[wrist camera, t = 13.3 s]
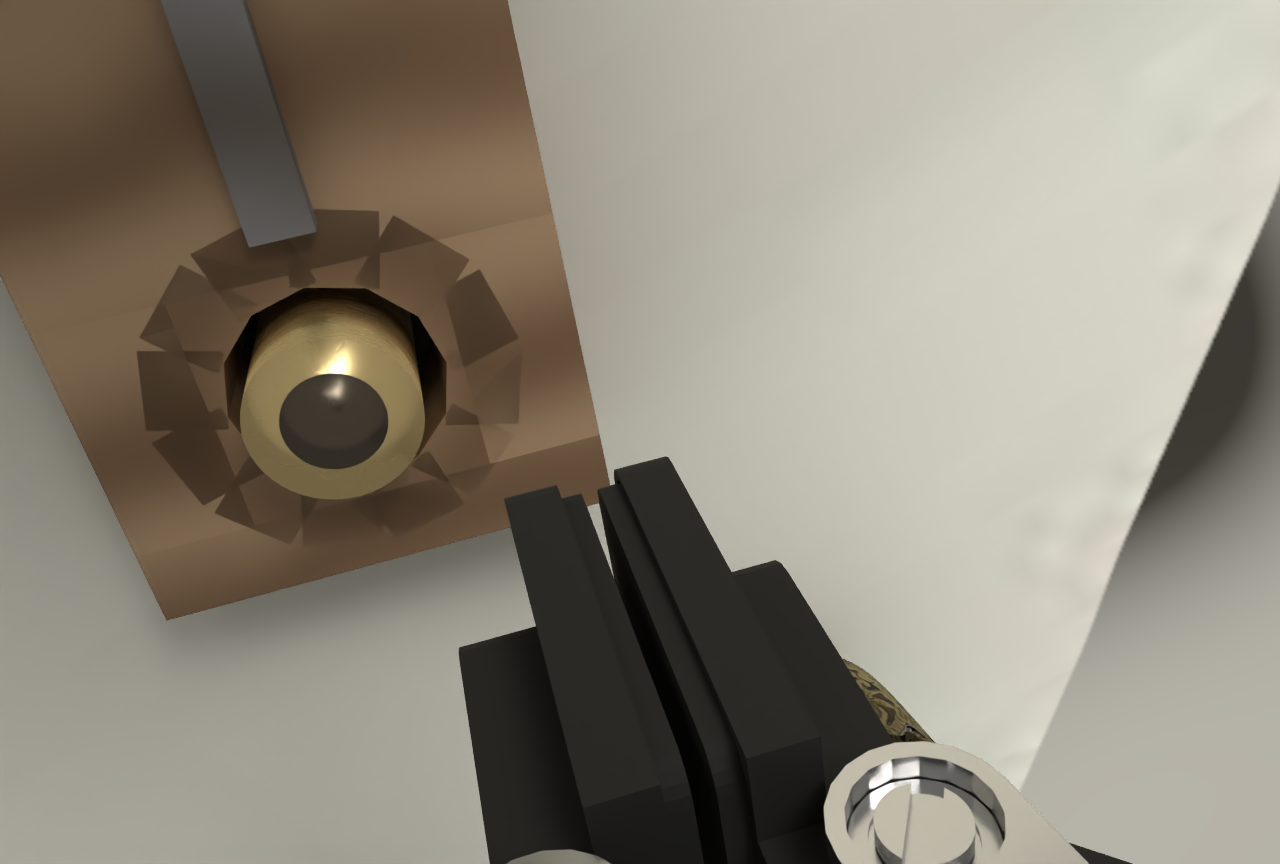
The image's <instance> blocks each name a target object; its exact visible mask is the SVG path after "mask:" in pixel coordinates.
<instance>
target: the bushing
mask: <svg viewBox="0 0 1280 864" xmlns="http://www.w3.org/2000/svg"><path fill="white" fill-rule="evenodd" d="M424 426H425V413H424V404H423V398H422V391H421V384H420V377H419V370H418V364H417V357H416V350H415V343H414V336H413V330H412V323H411V316H410V312H409V311H407V310H405V309H403V308H402V307H400V306H398V305H396V304H394V303H392V302H390V301H389V300H387V299H385V298H383V297H381V296H379V295H378V294H376V293H374V292H372V291H370V290H368V289H366V288H303V289H301V290H299V291H297V292H295V293H293V294H291V295H289V296H287V297H286V298H284V299H282V300H280V301H278V302H276V303H274V304H272V305H270V306H269V307H267V308H265V309H263V310H261V313H260V318H259V323H258V327H257V332H256V337H255V342H254V346H253V351H252V356H251V360H250V365H249V370H248V375H247V379H246V384H245V389H244V393H243V398H242V403H241V410H240V427H241V433H242V437H243V440H244V443H245V446H246V448H247V450H248V452H249V454H250V456H251V457H252V459H253V460H254V462H255V463H256V464H257V466H258V467H259V468H260V469H261V470H262V471H263V472H264V473H265V474H266V475H267V476H268V477H270V478H271V479H272V480H273V481H275V482H276V483H278V484H279V485H281V486H283V487H285V488H287V489H289V490H291V491H293V492H296V493H298V494H301V495H304V496H309V497H313V498H319V499H348V498H353V497H358V496H362V495H365V494H368V493H371V492H373V491H375V490H378V489H380V488H382V487H383V486H385V485H387V484H388V483H390V482H391V481H393V480H394V479H395V478H396V477H398V476H399V475H400V474H401V473H402V472H403V471H404V470H405V469H406V468H407V467H408V465H409V464H410V463H411V461H412V460H413V458H414V457H415V455H416V453H417V451H418V449H419V447H420V444H421V441H422V438H423V433H424Z"/></svg>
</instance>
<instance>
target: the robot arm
mask: <svg viewBox="0 0 1280 864" xmlns="http://www.w3.org/2000/svg"><path fill="white" fill-rule="evenodd" d="M614 479H615V485H611V486H607V487H603V488H599V489H598V491H597V492H598V499H599V505H600V510H601V515H602V520H603V525H604V530H605V535H606V540H607V545H608V550H609V555H610V560H611V565H612V570H613V575H614V578H613V575H612V572H611V570H610V567H609V564H608V562H607V559H606V556H605V554H604V551H603V549H602V546H601V543H600V541H599V538H598V535H597V533H596V530H595V527H594V525H593V522H592V520H591V517H590V514H589V512H588V509H587V506H586V504H585V501H584V498H583V496H582V494H581V493H580V494H576V495H573V496H569V497H565V498H561V495H560V492H559V489H558V487H557V485H554V486H550V487H546V488H542V489H538V490H534V491H530V492H527V493H523V494H519V495H515V496H511V497H507V498H504V502H505V506H506V510H507V514H508V517H509V521H510V525H511V529H512V533H513V537H514V541H515V545H516V549H517V553H518V557H519V561H520V565H521V569H522V573H523V577H524V581H525V584H526V588H527V592H528V596H529V600H530V604H531V608H532V612H533V616H534V620H535V624H536V627H532V628H528V629H525V630H521V631H518V632H514V633H510V634H507V635H503V636H500V637H496V638H492V639H489V640H485V641H481V642H478V643H474V644H471V645H467V646H463V647H460V648H459V659H460V667H461V673H462V680H463V687H464V693H465V700H466V707H467V714H468V720H469V727H470V734H471V740H472V747H473V754H474V760H475V767H476V774H477V780H478V787H479V794H480V800H481V807H482V814H483V820H484V827H485V834H486V841H487V847H488V854H489V861H490V864H1132V863H1129V862H1126V861H1123V860H1120V859H1117V858H1114V857H1110V856H1108V855H1105V854H1101V853H1098V852H1095V851H1092V850H1089V849H1086V848H1083V847H1080V846H1077V845H1074V844H1071V843H1068V842H1067V841H1066V839H1064V837H1063V836H1062V835H1061V834H1060V833H1059V832H1058V831H1057V830H1056V829H1055V828H1054V827H1053V826H1052V825H1051V824H1050V823H1049V822H1048V821H1047V820H1046V819H1045V818H1044V817H1043V816H1042V815H1041V814H1040V813H1039V812H1038V811H1037V810H1036V808H1035V807H1034V806H1033V805H1032V804H1031V803H1030V802H1029V801H1028V800H1027V799H1026V798H1025V797H1024V796H1023V795H1022V794H1021V793H1020V792H1019V791H1018V790H1017V789H1016V788H1015V787H1014V786H1013V785H1012V784H1011V783H1010V781H1009V780H1008V779H1007V778H1006V777H1004V776H1003V775H1002V774H1001V773H999V772H998V771H997V770H996V769H994V768H993V767H992V766H990V765H989V764H988V763H987V762H985V761H984V760H983V759H981V758H979V757H976V756H974V755H972V754H970V753H967V752H965V751H963V750H961V749H958V748H956V747H953V746H947V745H942V744H937V743H931V742H926V741H920V742H898V743H894V741H893V740H892V738H891V736H890V735H889V733H888V732H887V730H886V728H885V727H884V725H883V724H882V722H881V720H880V719H879V717H878V716H877V714H876V712H875V711H874V709H873V708H872V706H871V704H870V703H869V701H868V700H867V698H866V696H865V695H864V693H863V692H862V690H861V688H860V687H859V685H858V684H857V682H856V680H855V679H854V677H853V676H852V674H851V672H850V671H849V669H848V668H847V666H846V664H845V663H844V661H843V660H842V658H841V656H840V655H839V653H838V652H837V650H836V648H835V647H834V645H833V644H832V642H831V640H830V639H829V637H828V636H827V634H826V632H825V631H824V629H823V628H822V626H821V624H820V623H819V621H818V620H817V618H816V616H815V615H814V613H813V612H812V610H811V608H810V607H809V605H808V604H807V602H806V600H805V599H804V597H803V596H802V594H801V592H800V591H799V589H798V588H797V586H796V584H795V583H794V581H793V580H792V578H791V576H790V575H789V573H788V572H787V570H786V569H785V568H784V567H783V565H782V564H781V563H780V562H778V561H776V560H774V561H771V562H767V563H764V564H760V565H756V566H753V567H749V568H746V569H742V570H738V571H735V572H731V570H730V569H729V567H728V565H727V563H726V561H725V559H724V558H723V556H722V554H721V552H720V550H719V548H718V547H717V545H716V543H715V541H714V539H713V538H712V536H711V534H710V532H709V530H708V528H707V527H706V525H705V523H704V521H703V519H702V517H701V516H700V514H699V512H698V510H697V508H696V506H695V505H694V503H693V501H692V499H691V497H690V495H689V494H688V492H687V490H686V488H685V486H684V484H683V483H682V481H681V479H680V477H679V475H678V473H677V472H676V470H675V468H674V466H673V464H672V462H671V461H670V459H669V458H668V457H662V458H658V459H654V460H650V461H646V462H643V463H639V464H635V465H631V466H627V467H623V468H619V469H615V470H614Z"/></svg>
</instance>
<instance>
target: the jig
mask: <svg viewBox="0 0 1280 864" xmlns="http://www.w3.org/2000/svg"><path fill="white" fill-rule="evenodd" d="M0 275H1V277H2V279H3V281H4V283H5V286H6V288H7V290H8V292H9V294H10V296H11V298H12V300H13V302H14V304H15V306H16V308H17V311H18V313H19V315H20V317H21V319H22V321H23V323H24V325H25V327H26V329H27V331H28V333H29V335H30V338H31V340H32V342H33V344H34V346H35V348H36V350H37V352H38V354H39V356H40V358H41V360H42V362H43V365H44V367H45V369H46V371H47V373H48V375H49V377H50V379H51V381H52V383H53V385H54V387H55V390H56V392H57V394H58V396H59V398H60V400H61V402H62V404H63V406H64V408H65V410H66V412H67V414H68V417H69V419H70V421H71V423H72V425H73V427H74V429H75V431H76V433H77V435H78V437H79V439H80V441H81V444H82V446H83V448H84V450H85V452H86V454H87V456H88V458H89V460H90V462H91V464H92V466H93V468H94V471H95V473H96V475H97V477H98V479H99V481H100V483H101V485H102V487H103V489H104V491H105V493H106V496H107V498H108V500H109V502H110V504H111V506H112V508H113V510H114V512H115V514H116V516H117V518H118V520H119V523H120V525H121V527H122V529H123V531H124V533H125V535H126V537H127V539H128V541H129V543H130V545H131V547H132V550H133V552H134V554H135V556H136V558H137V560H138V562H139V564H140V566H141V568H142V570H143V572H144V575H145V577H146V579H147V581H148V583H149V585H150V587H151V589H152V591H153V593H154V595H155V597H156V599H157V602H158V604H159V606H160V608H161V610H162V612H163V614H164V616H165V618H166V620H170V619H174V618H177V617H181V616H185V615H188V614H192V613H196V612H200V611H203V610H207V609H211V608H214V607H218V606H222V605H225V604H229V603H233V602H236V601H240V600H244V599H247V598H251V597H255V596H258V595H262V594H266V593H269V592H273V591H277V590H280V589H284V588H288V587H292V586H295V585H299V584H303V583H306V582H310V581H314V580H317V579H321V578H325V577H328V576H332V575H336V574H339V573H343V572H347V571H350V570H354V569H358V568H361V567H365V566H369V565H372V564H376V563H380V562H384V561H387V560H391V559H395V558H398V557H402V556H406V555H409V554H413V553H417V552H420V551H424V550H428V549H431V548H435V547H439V546H442V545H446V544H450V543H453V542H457V541H461V540H464V539H468V538H472V537H476V536H479V535H483V534H487V533H490V532H494V531H498V530H501V529H505V528H509V527H511V525H510V521H509V517H508V514H507V510H506V506H505V502H504V498H507V497H511V496H515V495H519V494H523V493H527V492H530V491H534V490H538V489H542V488H546V487H550V486H554V485H557V487H558V489H559V492H560V495H561V498H565V497H569V496H573V495H576V494H580V493H581V494H582V496H583V498H584V501H585V504H586V506H590V505H593V504H597V503H599V499H598V492H597V491H598V489H599V488H603V487H607V486H610V482H609V478H608V473H607V468H606V464H605V459H604V454H603V449H602V445H601V440H600V435H599V431H598V426H597V421H596V416H595V412H594V407H593V402H592V398H591V393H590V388H589V383H588V379H587V374H586V369H585V365H584V360H583V355H582V350H581V346H580V341H579V336H578V332H577V327H576V322H575V317H574V313H573V308H572V303H571V298H570V294H569V289H568V284H567V280H566V275H565V270H564V265H563V261H562V256H561V251H560V247H559V242H558V237H557V232H556V228H555V223H554V218H553V214H552V209H551V204H550V199H549V195H548V190H547V185H546V181H545V176H544V171H543V166H542V162H541V157H540V152H539V148H538V143H537V138H536V133H535V129H534V124H533V119H532V115H531V110H530V105H529V100H528V96H527V91H526V86H525V82H524V77H523V72H522V67H521V63H520V58H519V53H518V49H517V44H516V39H515V34H514V30H513V25H512V20H511V16H510V11H509V6H508V1H507V0H0ZM303 288H366V289H368V290H370V291H372V292H374V293H376V294H378V295H379V296H381V297H383V298H385V299H387V300H389V301H390V302H392V303H394V304H396V305H398V306H400V307H402V308H403V309H405V310H407V311H409V312H411V313H413V314H415V315H416V316H418V317H419V319H420V320H421V322H422V324H423V325H424V327H425V328H426V330H427V332H428V333H429V335H430V336H431V338H432V340H433V341H434V348H433V349H432V351H431V352H430V354H429V355H428V357H427V359H426V360H425V362H424V363H423V365H422V366H421V368H420V370H419V377H420V384H421V391H422V398H423V404H424V413H425V426H424V433H423V438H422V441H421V444H420V447H419V449H418V451H417V453H416V455H415V457H414V458H413V460H412V461H411V463H410V464H409V465H408V467H407V468H406V469H405V470H404V471H403V472H402V473H401V474H400V475H399V476H398V477H396V478H395V479H394V480H393V481H391V482H390V483H388V484H387V485H385V486H383V487H382V488H380V489H378V490H375V491H373V492H371V493H368V494H365V495H362V496H358V497H353V498H348V499H319V498H313V497H309V496H304V495H301V494H298V493H296V492H293V491H291V490H289V489H287V488H285V487H283V486H281V485H279V484H278V483H276V482H275V481H273V480H272V479H271V478H270V477H268V476H267V475H266V474H265V473H264V472H263V471H262V470H261V469H260V468H259V467H258V466H257V464H256V463H255V462H254V460H253V459H252V457H251V456H250V454H249V452H248V450H247V448H246V446H245V443H244V440H243V437H242V433H241V427H240V410H241V403H242V398H243V393H244V389H245V384H246V379H247V375H248V370H249V365H250V360H251V354H250V353H249V352H248V350H247V349H246V347H245V340H244V327H245V326H246V324H247V322H248V321H249V319H250V317H251V316H252V315H254V314H255V313H257V312H259V311H261V310H263V309H265V308H267V307H269V306H270V305H272V304H274V303H276V302H278V301H280V300H282V299H284V298H286V297H287V296H289V295H291V294H293V293H295V292H297V291H299V290H301V289H303Z"/></svg>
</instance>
